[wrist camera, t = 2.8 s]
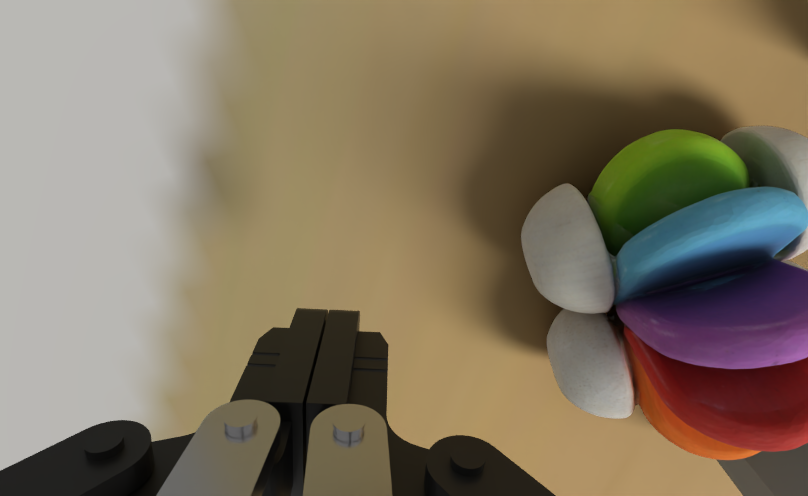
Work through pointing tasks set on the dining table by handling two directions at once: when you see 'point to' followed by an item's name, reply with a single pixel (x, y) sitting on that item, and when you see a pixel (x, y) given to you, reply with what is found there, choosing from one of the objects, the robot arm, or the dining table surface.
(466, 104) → the dining table surface
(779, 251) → the white-wheeled rainbow disc toy
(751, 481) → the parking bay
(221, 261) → the dining table surface
